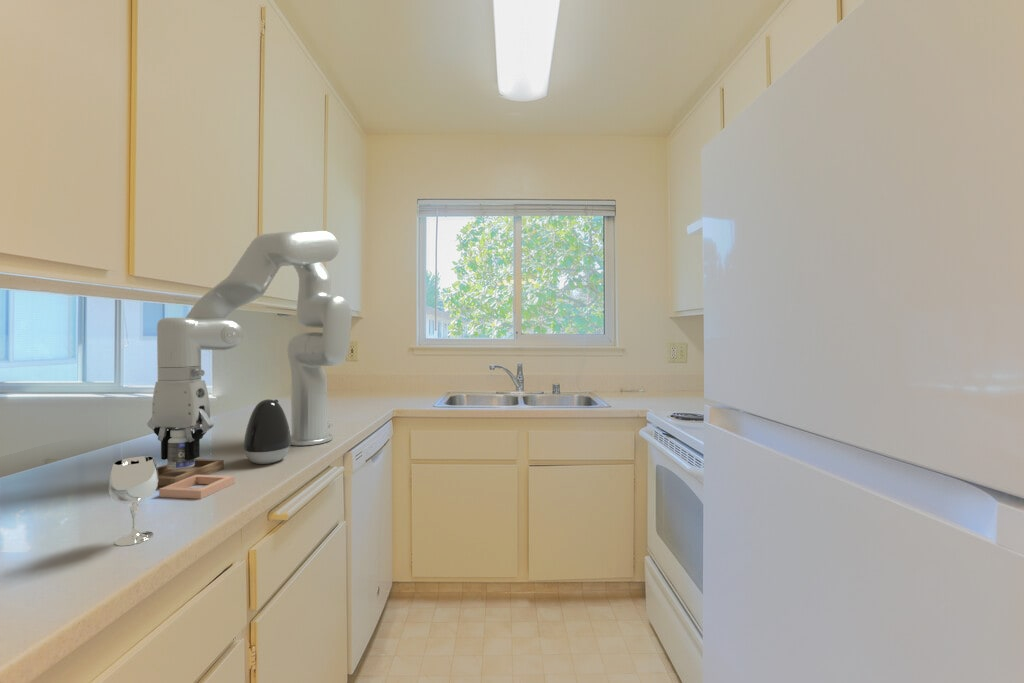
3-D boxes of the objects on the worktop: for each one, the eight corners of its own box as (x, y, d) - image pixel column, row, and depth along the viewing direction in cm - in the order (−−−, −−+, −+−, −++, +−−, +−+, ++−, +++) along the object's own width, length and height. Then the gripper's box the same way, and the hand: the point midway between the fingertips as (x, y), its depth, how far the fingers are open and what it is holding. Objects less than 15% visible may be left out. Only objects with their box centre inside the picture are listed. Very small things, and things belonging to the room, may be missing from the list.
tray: (183, 467, 101) (183, 458, 101) (223, 468, 100) (223, 460, 100) (129, 486, 88) (129, 476, 88) (175, 488, 87) (175, 478, 87)
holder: (195, 481, 91) (195, 474, 91) (234, 483, 91) (234, 476, 91) (159, 496, 83) (159, 489, 83) (200, 498, 82) (200, 490, 82)
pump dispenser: (297, 454, 112) (297, 396, 112) (281, 466, 102) (281, 402, 102) (255, 455, 111) (255, 396, 111) (235, 468, 101) (235, 402, 100)
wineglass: (135, 529, 69) (135, 454, 69) (168, 531, 69) (168, 456, 68) (97, 546, 64) (97, 465, 63) (133, 549, 63) (132, 467, 63)
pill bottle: (179, 471, 92) (180, 431, 92) (161, 469, 92) (162, 430, 93) (200, 465, 96) (200, 427, 96) (182, 463, 97) (183, 426, 97)
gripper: (229, 373, 97) (230, 454, 97) (159, 372, 98) (160, 452, 99) (202, 377, 89) (203, 465, 90) (127, 375, 91) (128, 462, 91)
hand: (180, 457), depth 94 cm, fingers closed on pill bottle, 4 cm apart
